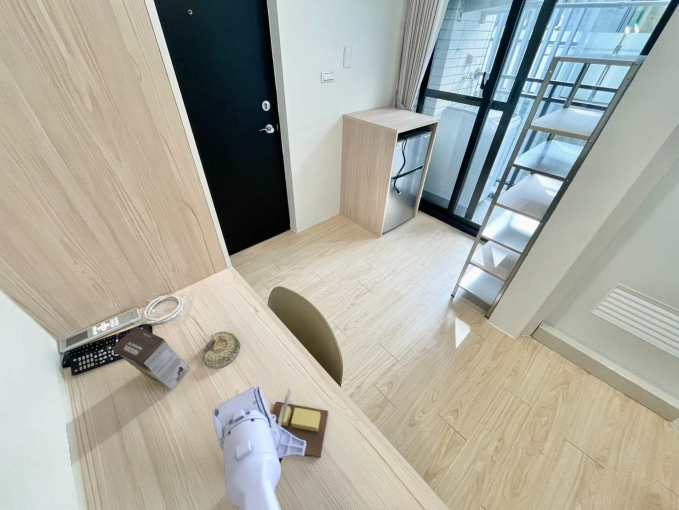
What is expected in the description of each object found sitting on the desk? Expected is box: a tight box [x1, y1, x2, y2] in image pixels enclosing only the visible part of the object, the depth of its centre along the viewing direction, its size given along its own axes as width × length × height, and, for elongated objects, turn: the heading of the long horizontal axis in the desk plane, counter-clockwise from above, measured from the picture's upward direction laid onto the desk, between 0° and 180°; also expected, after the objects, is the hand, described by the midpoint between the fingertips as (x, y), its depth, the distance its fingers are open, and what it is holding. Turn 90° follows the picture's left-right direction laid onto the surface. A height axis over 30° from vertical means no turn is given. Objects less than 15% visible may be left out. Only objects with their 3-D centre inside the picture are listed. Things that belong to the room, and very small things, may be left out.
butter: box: [291, 408, 321, 432], centre depth 61 cm, size 3×6×3 cm, turn 81°
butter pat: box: [278, 405, 291, 426], centre depth 62 cm, size 3×2×3 cm, turn 171°
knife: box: [278, 387, 292, 427], centre depth 55 cm, size 15×2×3 cm, turn 171°
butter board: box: [271, 401, 329, 458], centre depth 62 cm, size 9×13×1 cm
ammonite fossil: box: [202, 330, 241, 369], centre depth 74 cm, size 10×10×5 cm
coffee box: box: [111, 326, 191, 391], centre depth 66 cm, size 9×6×16 cm
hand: (272, 450), depth 53 cm, fingers closed on knife, 2 cm apart
